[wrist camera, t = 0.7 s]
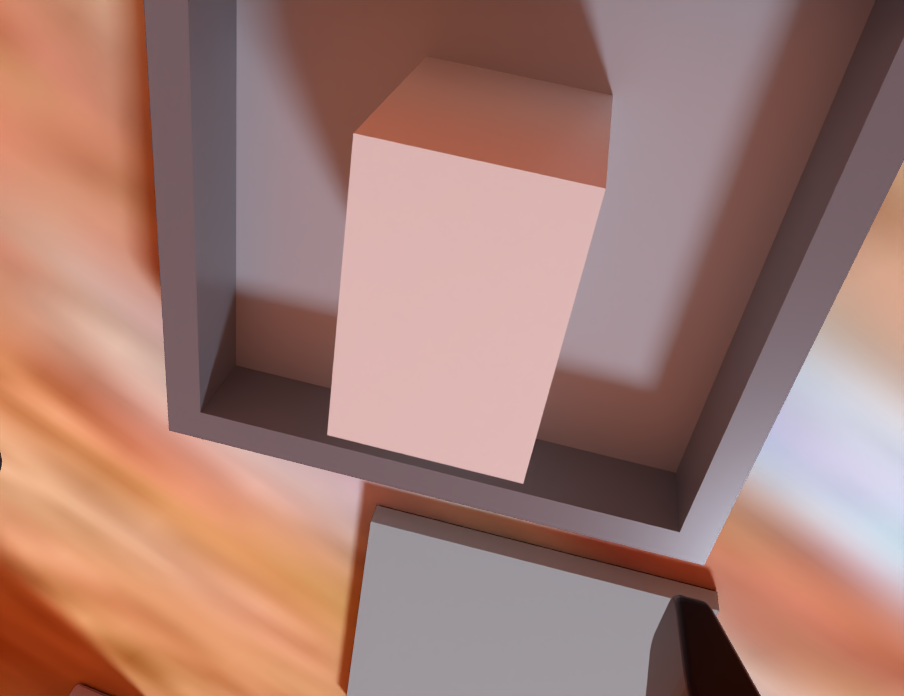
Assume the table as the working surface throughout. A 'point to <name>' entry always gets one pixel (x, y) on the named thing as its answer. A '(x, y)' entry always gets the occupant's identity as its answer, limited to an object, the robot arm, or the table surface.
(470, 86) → the block
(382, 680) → the mat
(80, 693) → the supplement box
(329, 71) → the grey square tray
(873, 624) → the table surface
